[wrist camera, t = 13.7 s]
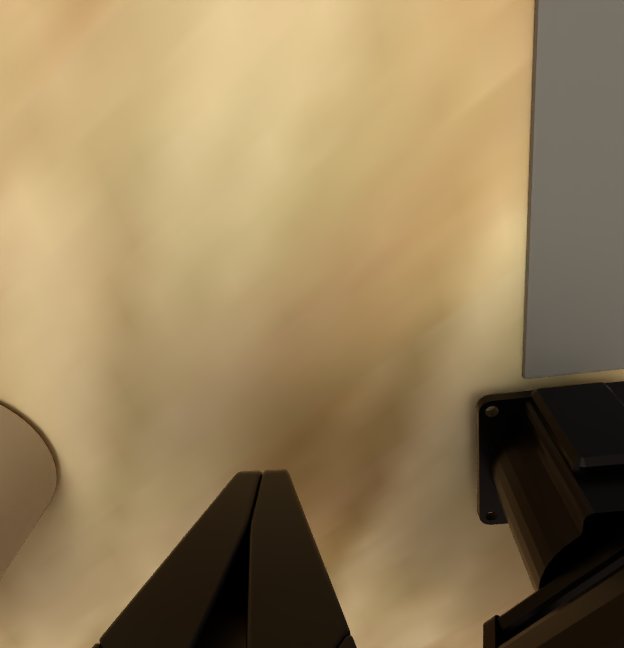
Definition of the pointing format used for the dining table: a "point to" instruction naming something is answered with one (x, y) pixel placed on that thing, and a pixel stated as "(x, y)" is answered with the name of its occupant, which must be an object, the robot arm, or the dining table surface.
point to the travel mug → (21, 482)
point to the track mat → (576, 191)
